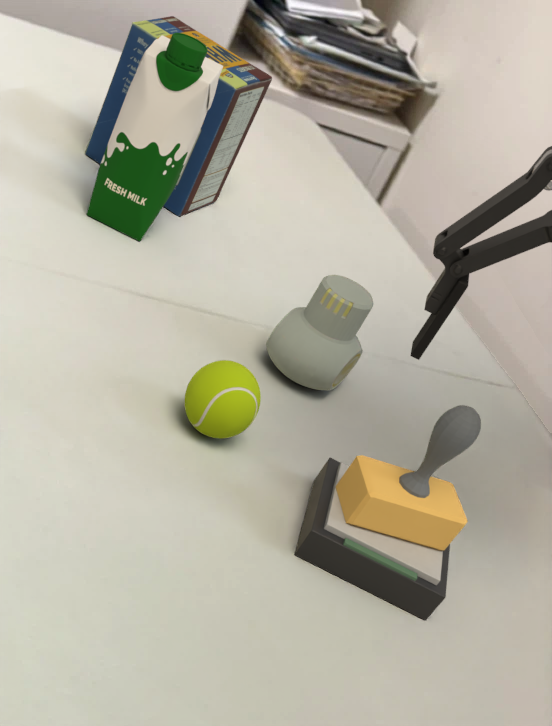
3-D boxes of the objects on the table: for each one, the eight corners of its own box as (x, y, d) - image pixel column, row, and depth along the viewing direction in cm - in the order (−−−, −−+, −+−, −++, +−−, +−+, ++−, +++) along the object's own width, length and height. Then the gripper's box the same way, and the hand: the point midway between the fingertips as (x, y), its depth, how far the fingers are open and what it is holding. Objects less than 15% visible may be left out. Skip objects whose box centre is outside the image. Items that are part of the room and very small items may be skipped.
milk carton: (76, 214, 126) (146, 27, 111) (97, 189, 132) (166, 9, 117) (145, 248, 126) (223, 66, 111) (162, 221, 132) (239, 46, 117)
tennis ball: (247, 459, 104) (283, 398, 99) (182, 447, 101) (216, 384, 96) (227, 413, 108) (261, 353, 103) (164, 401, 106) (196, 338, 101)
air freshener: (288, 338, 123) (335, 256, 116) (349, 378, 121) (400, 298, 114) (248, 366, 116) (295, 280, 108) (312, 409, 114) (364, 325, 107)
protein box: (123, 141, 144) (172, 14, 133) (217, 202, 141) (275, 77, 130) (82, 153, 137) (130, 20, 126) (179, 218, 134) (238, 87, 123)
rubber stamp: (429, 512, 101) (513, 406, 92) (444, 553, 97) (533, 447, 89) (334, 484, 99) (411, 372, 90) (346, 525, 95) (427, 412, 86)
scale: (433, 541, 105) (456, 513, 103) (425, 621, 96) (450, 592, 94) (313, 481, 105) (333, 451, 103) (294, 555, 96) (315, 524, 94)
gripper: (521, 51, 70) (347, 339, 85) (870, 222, 70) (633, 479, 85) (521, 25, 75) (357, 301, 91) (847, 185, 75) (627, 433, 91)
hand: (491, 388), depth 88 cm, fingers open, 13 cm apart
